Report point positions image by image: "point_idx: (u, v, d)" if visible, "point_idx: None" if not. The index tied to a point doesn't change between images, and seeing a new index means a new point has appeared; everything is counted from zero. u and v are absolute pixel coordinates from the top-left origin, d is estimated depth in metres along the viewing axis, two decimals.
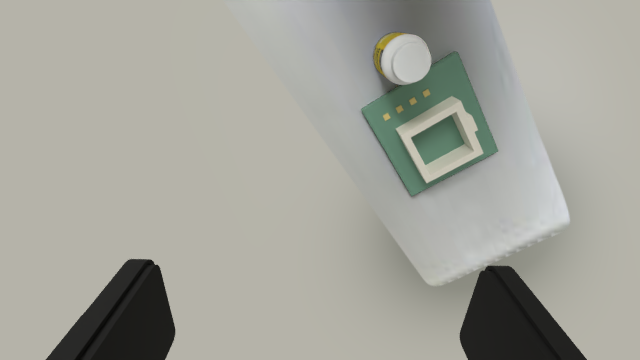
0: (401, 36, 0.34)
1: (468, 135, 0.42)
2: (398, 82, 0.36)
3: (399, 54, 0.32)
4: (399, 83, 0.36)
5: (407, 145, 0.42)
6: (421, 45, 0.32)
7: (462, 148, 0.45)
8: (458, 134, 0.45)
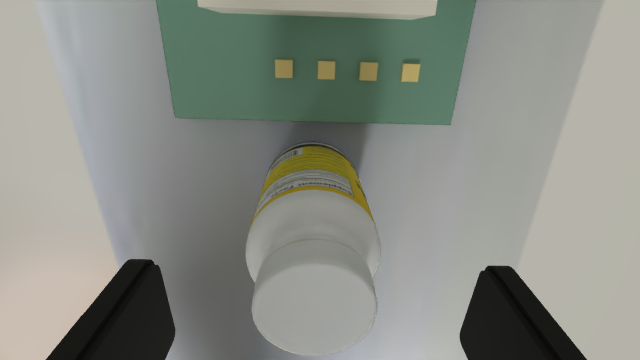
0: None
1: None
2: (364, 228, 0.11)
3: (336, 348, 0.10)
4: (362, 222, 0.11)
5: None
6: (267, 337, 0.10)
7: None
8: None
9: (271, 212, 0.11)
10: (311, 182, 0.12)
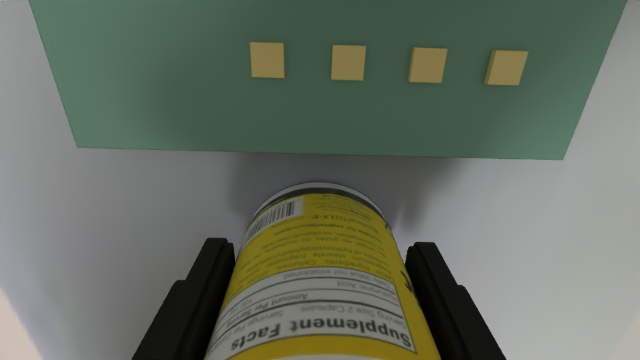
0: None
1: None
2: None
3: None
4: None
5: None
6: None
7: None
8: None
9: None
10: (321, 318, 0.05)
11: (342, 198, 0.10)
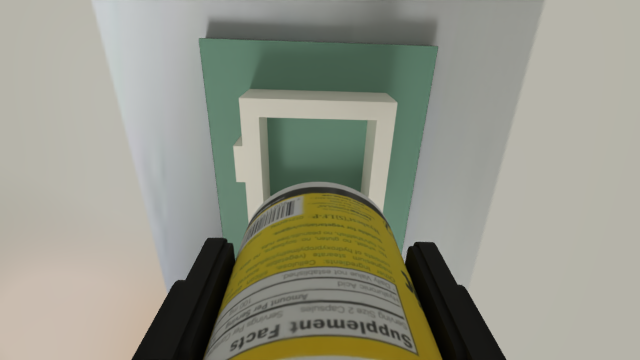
0: None
1: (258, 160, 0.18)
2: None
3: None
4: None
5: None
6: None
7: None
8: (271, 133, 0.21)
9: None
10: (321, 319, 0.05)
11: (342, 198, 0.10)
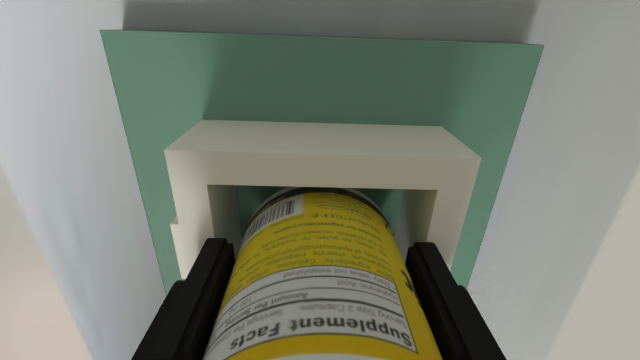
0: None
1: None
2: None
3: None
4: None
5: None
6: None
7: None
8: (243, 191, 0.12)
9: None
10: (320, 317, 0.05)
11: (342, 197, 0.10)
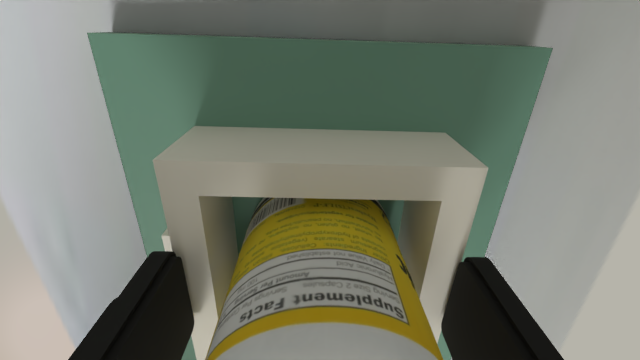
0: None
1: (205, 270, 0.09)
2: None
3: None
4: None
5: None
6: None
7: None
8: (239, 200, 0.12)
9: None
10: (321, 293, 0.06)
11: None
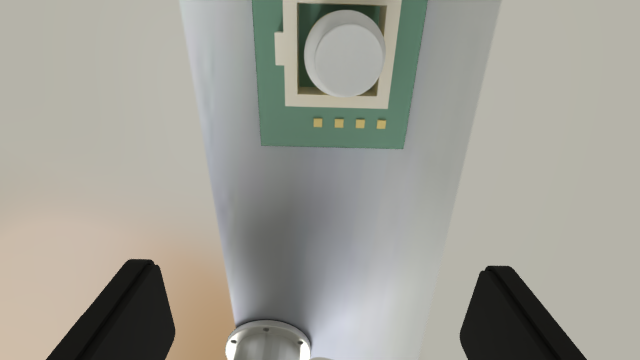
0: (333, 95, 0.21)
1: (294, 41, 0.24)
2: (376, 30, 0.19)
3: (360, 90, 0.19)
4: (375, 27, 0.19)
5: (388, 87, 0.25)
6: (322, 81, 0.18)
7: (307, 3, 0.24)
8: (302, 29, 0.26)
9: (321, 20, 0.19)
10: None
11: None
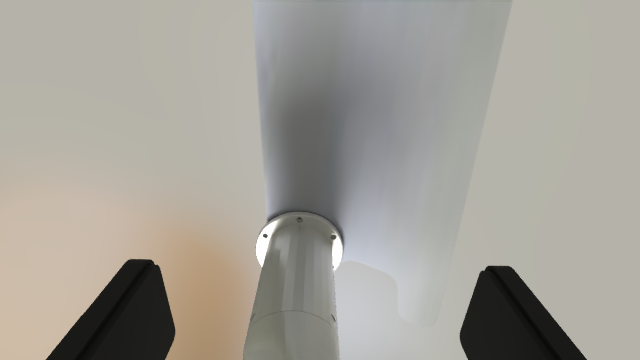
0: None
1: None
2: None
3: None
4: None
5: None
6: None
7: None
8: None
9: None
10: None
11: None
